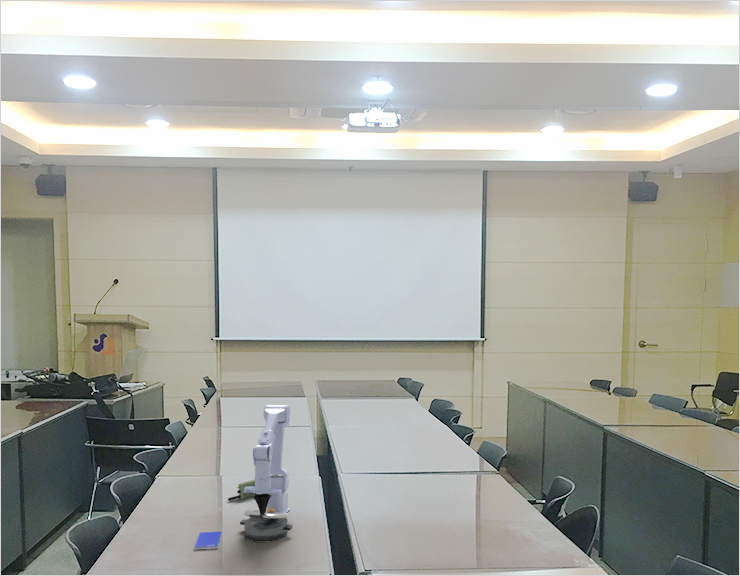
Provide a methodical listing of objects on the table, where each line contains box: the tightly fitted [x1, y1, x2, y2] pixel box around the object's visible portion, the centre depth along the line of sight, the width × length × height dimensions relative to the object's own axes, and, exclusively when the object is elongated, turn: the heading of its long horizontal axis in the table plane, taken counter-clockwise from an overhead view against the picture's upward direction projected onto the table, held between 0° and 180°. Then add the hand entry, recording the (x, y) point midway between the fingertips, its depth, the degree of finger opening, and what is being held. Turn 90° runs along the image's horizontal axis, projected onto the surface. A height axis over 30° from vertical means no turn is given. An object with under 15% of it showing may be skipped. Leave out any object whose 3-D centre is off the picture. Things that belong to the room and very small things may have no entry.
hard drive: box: [193, 531, 223, 551], centre depth 221 cm, size 2×8×12 cm
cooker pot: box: [239, 517, 293, 542], centre depth 230 cm, size 18×20×4 cm
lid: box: [243, 508, 290, 519], centre depth 229 cm, size 18×17×2 cm
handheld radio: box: [227, 474, 279, 502], centre depth 268 cm, size 7×3×25 cm
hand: (262, 513), depth 226 cm, fingers closed, pressing on lid
